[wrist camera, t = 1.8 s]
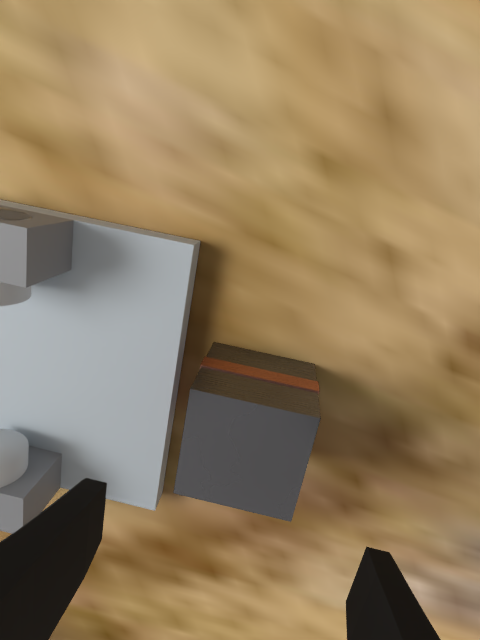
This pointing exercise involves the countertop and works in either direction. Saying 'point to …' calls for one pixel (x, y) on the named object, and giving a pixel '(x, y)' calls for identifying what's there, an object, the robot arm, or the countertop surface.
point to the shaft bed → (87, 356)
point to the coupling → (249, 431)
